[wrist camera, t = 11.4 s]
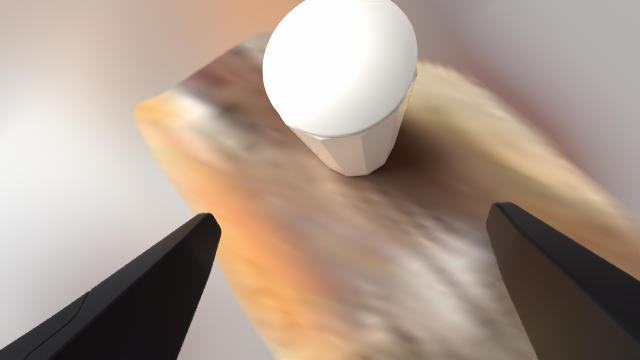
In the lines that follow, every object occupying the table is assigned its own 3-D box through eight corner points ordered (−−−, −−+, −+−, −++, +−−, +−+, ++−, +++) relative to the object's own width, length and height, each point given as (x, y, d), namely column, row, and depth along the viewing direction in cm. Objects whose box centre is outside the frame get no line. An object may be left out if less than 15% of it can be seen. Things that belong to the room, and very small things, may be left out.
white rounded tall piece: (395, 173, 21) (424, 126, 9) (320, 178, 22) (262, 141, 11) (390, 99, 22) (410, -27, 10) (317, 108, 23) (262, 4, 12)
